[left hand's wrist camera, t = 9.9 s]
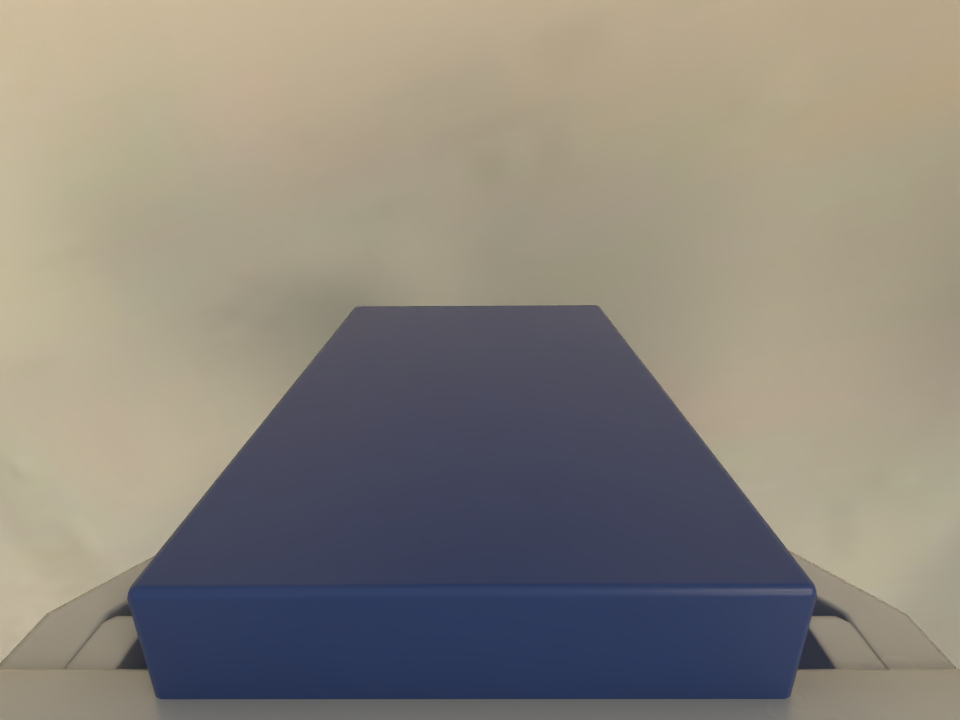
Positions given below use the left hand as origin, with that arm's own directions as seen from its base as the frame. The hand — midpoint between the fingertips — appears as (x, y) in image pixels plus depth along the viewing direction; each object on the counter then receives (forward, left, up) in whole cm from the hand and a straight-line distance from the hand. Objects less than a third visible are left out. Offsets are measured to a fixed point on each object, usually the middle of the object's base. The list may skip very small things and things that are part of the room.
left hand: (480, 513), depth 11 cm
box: (+8, +1, -4) cm, 9 cm away
